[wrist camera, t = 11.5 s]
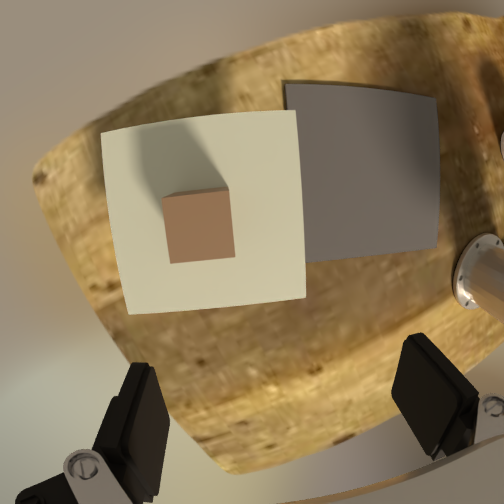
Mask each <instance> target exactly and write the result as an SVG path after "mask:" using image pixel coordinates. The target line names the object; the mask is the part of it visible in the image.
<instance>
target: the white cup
mask: <svg viewBox="0 0 504 504" xmlns="http://www.w3.org/2000/svg"><path fill="white" fill-rule="evenodd" d="M501 153H502V156H503V159H504V132H503V134H502V137H501Z"/></svg>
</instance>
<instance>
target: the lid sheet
mask: <svg viewBox="0 0 504 504" xmlns="http://www.w3.org/2000/svg"><path fill="white" fill-rule="evenodd" d="M101 145H102V158H103V170H104V179H105V188H106V197H107V205H108V212H109V219H110V225H111V232H112V238H113V243H114V249H115V255H116V260H117V265H118V270H119V275H120V280H121V284H122V289H123V293H124V297H125V302H126V306H127V310H128V314H129V315H130V314H146V313H161V312H174V311H186V310H198V309H209V308H219V307H229V306H239V305H248V304H257V303H266V302H275V301H283V300H291V299H299V298H306V274H305V244H304V221H303V202H302V186H301V171H300V157H299V144H298V133H297V121H296V111H295V110H278V111H255V112H240V113H227V114H216V115H207V116H198V117H189V118H182V119H175V120H168V121H161V122H155V123H149V124H143V125H138V126H133V127H127V128H122V129H118V130H113V131H108V132H104V133H101Z"/></svg>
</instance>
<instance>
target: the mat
mask: <svg viewBox="0 0 504 504" xmlns="http://www.w3.org/2000/svg"><path fill="white" fill-rule="evenodd" d="M285 96H286V108H287V110H295V111H296V121H297V133H298V144H299V157H300V171H301V186H302V202H303V221H304V244H305V263H309V262H318V261H327V260H337V259H346V258H355V257H364V256H372V255H381V254H390V253H398V252H407V251H415V250H423V249H431V248H436V247H437V236H438V223H439V205H440V145H439V127H438V114H437V103H436V98H433V97H427V96H422V95H416V94H410V93H404V92H397V91H390V90H382V89H373V88H363V87H352V86H338V85H318V84H285Z"/></svg>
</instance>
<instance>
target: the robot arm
mask: <svg viewBox="0 0 504 504" xmlns="http://www.w3.org/2000/svg"><path fill="white" fill-rule="evenodd" d="M453 290H454V295H455V298H456V300H457V302H458V303H459V304H460V305H461V306H462V307H464V308H466V309H476V308H479V307H481V308H482V309H484V310H485V311H486V312H488V313H489V314H491V315H492V316H493V317H495V318H496V319H497V320H499V321H500V322H501V323H503V324H504V246H503V243H502V241H501V240H500V239H499V238H498V237H497V236H496V235H493V234H490V233H483V234H480V235H478V236H477V237H475V238H474V239H473V240H472V241H471V242H470V243H469V244H468V245H467V247H466V248H465V249H464V251H463V253H462V254H461V256H460V259H459V261H458V263H457V266H456V270H455V274H454V281H453ZM391 394H392V398H393V400H394V401H395V403H396V405H397V406H398V408H399V410H400V411H401V413H402V415H403V416H404V418H405V419H406V421H407V423H408V425H409V426H410V428H411V430H412V431H413V433H414V435H415V436H416V438H417V440H418V441H419V443H420V445H421V447H422V448H423V450H424V452H425V453H426V455H428V456H431V457H432V460H433V461H435V460H437V459H439V458H442V457H444V456H445V455H446V458H444V459H441V460H439V461H436V462H434V463H432V464H429V465H427V466H424V467H422V468H419V469H417V470H414V471H411V472H408V473H406V474H403V475H400V476H397V477H395V478H391V479H388V480H385V481H382V482H378V483H375V484H372V485H368V486H365V487H361V488H357V489H353V490H349V491H345V492H341V493H337V494H333V495H328V496H323V497H317V498H312V499H306V500H300V501H294V502H286V503H279V504H504V397H503V396H501V395H499V394H495V393H494V394H493V393H490V394H486V395H484V396H483V397H482V398H481V399H480V398H479V397H478V394H479V392H478V391H477V390H476V389H475V388H474V386H473V385H472V384H471V383H470V382H469V381H468V380H467V379H466V378H465V377H464V375H463V374H462V373H461V372H460V371H459V370H458V369H457V368H456V367H455V366H454V365H453V364H452V363H451V361H450V360H449V359H448V358H447V357H446V356H445V355H444V354H443V353H442V352H441V351H440V350H439V349H438V348H437V347H436V346H435V345H434V344H433V343H432V342H431V341H430V340H429V339H428V337H427V336H426V335H425V334H423V333H416V334H412V335H409V336H408V337H407V339H406V340H404V342H403V346H402V351H401V355H400V359H399V364H398V368H397V372H396V375H395V379H394V383H393V387H392V390H391ZM169 426H170V418H169V414H168V411H167V408H166V405H165V402H164V399H163V396H162V393H161V389H160V386H159V383H158V380H157V376H156V373H155V369H154V367H150V366H149V364H148V363H139V362H133V363H132V364H131V365H130V368H129V370H128V373H127V375H126V378H125V380H124V382H123V385H122V387H121V390H120V392H119V395H118V396H114V397H113V398H112V399H111V401H110V404H109V406H108V409H107V411H106V414H105V416H104V419H103V421H102V424H101V427H100V429H99V432H98V434H97V437H96V439H95V442H94V445H93V447H92V450H89V449H81V450H77V451H75V452H73V453H71V454H70V455H69V456H68V457H67V458H66V460H65V462H64V465H63V470H64V472H63V473H61V474H59V475H57V476H54V477H52V478H50V479H48V480H45V481H43V482H41V483H38V484H36V485H34V486H31V487H29V488H26V489H24V490H23V491H21V492H20V493H19V494H18V496H17V498H16V500H15V504H143V502H150V503H152V502H153V496H157V495H158V493H159V488H160V481H161V474H162V468H163V462H164V456H165V449H166V444H167V438H168V431H169Z"/></svg>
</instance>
